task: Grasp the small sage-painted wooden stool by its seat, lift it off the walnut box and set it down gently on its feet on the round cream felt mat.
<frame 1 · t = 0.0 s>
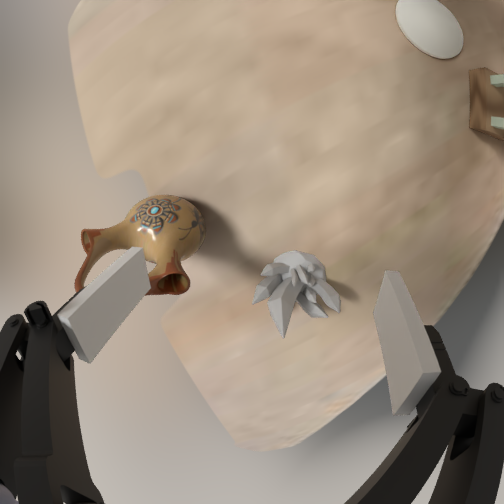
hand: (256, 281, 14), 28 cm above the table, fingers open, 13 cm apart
crystal: (299, 276, 46), on the table
ceramic vessel: (182, 213, 45), on the table
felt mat: (430, 25, 22), on the table
walnut box: (491, 107, 25), on the table
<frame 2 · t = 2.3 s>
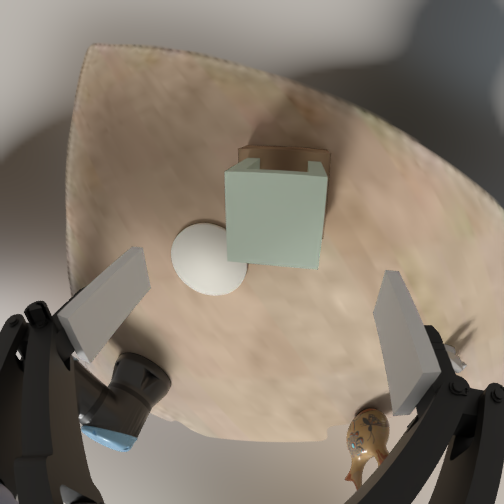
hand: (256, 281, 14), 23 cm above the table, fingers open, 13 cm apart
crystal: (436, 359, 43), on the table
ceramic vessel: (366, 412, 54), on the table
stool: (282, 194, 30), point 5 cm above the table, touching walnut box
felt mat: (208, 259, 42), on the table
walnut box: (285, 185, 34), on the table
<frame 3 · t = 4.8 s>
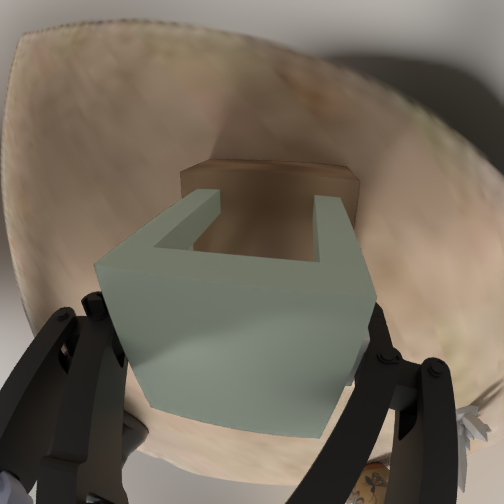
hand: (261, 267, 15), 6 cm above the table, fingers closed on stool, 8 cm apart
crystal: (456, 418, 29), on the table
ceramic vessel: (369, 465, 40), on the table
stool: (264, 257, 16), point 5 cm above the table, touching gripper, walnut box
walnut box: (274, 226, 21), on the table
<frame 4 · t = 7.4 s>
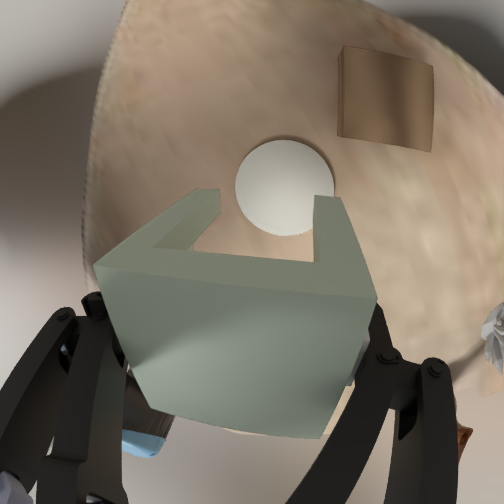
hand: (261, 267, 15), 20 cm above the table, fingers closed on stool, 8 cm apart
crystal: (500, 318, 34), on the table
ceramic vessel: (426, 388, 45), on the table
stool: (264, 257, 16), point 19 cm above the table, touching gripper
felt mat: (284, 188, 33), on the table
walnut box: (379, 101, 26), on the table
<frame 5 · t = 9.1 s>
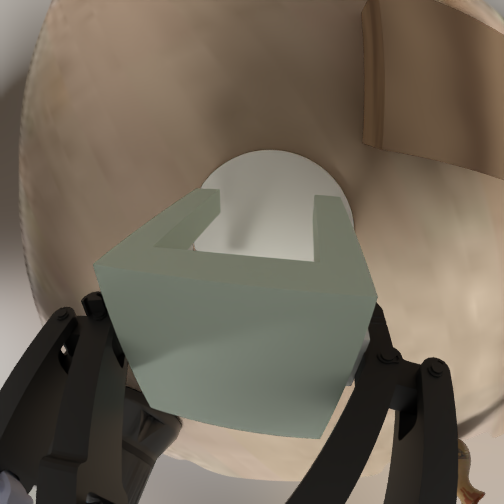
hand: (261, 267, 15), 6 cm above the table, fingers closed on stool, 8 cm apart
ceramic vessel: (438, 441, 32), on the table
stool: (264, 256, 16), point 4 cm above the table, touching gripper
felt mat: (271, 231, 20), on the table
walnut box: (429, 88, 13), on the table
when the fingers open (3 cm above the table, at t = 10.4 s): stool drops 1 cm, resting on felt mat.
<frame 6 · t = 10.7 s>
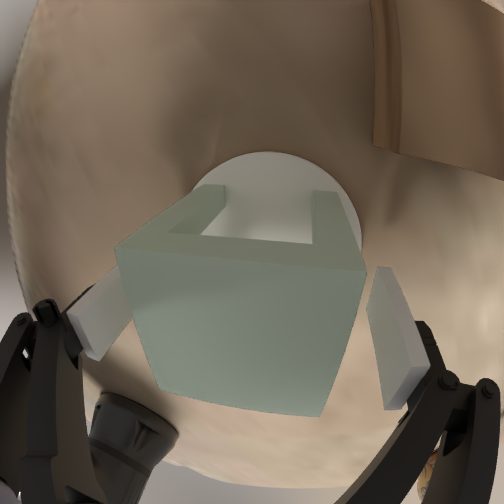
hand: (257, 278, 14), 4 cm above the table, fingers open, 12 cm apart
ceramic vessel: (441, 450, 30), on the table
stool: (266, 248, 17), point 1 cm above the table, touching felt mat
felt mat: (269, 243, 18), on the table
walnut box: (446, 84, 11), on the table
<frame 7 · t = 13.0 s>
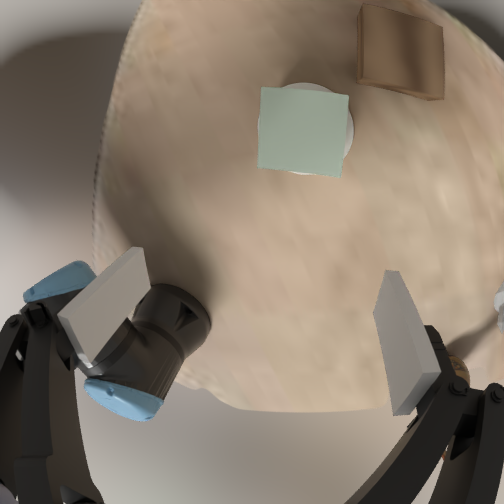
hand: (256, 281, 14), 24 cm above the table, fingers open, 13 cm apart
ceramic vessel: (437, 363, 44), on the table
stool: (305, 128, 31), point 1 cm above the table, touching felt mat
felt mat: (305, 128, 31), on the table
walnut box: (394, 56, 24), on the table
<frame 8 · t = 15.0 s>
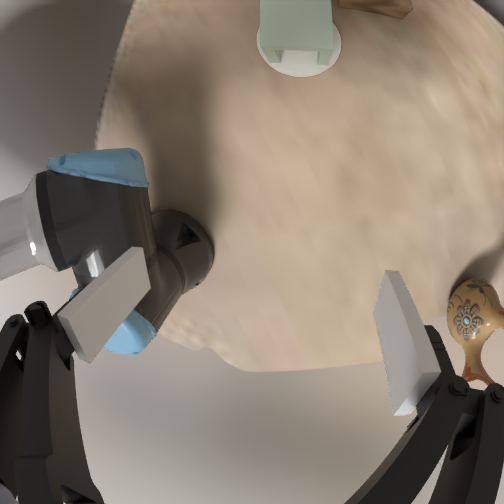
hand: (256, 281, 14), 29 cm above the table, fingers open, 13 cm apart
ceramic vessel: (460, 292, 42), on the table
stool: (298, 39, 29), point 1 cm above the table, touching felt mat
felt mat: (299, 41, 30), on the table
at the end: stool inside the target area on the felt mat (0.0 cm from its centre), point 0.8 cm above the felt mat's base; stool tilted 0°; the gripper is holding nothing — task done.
